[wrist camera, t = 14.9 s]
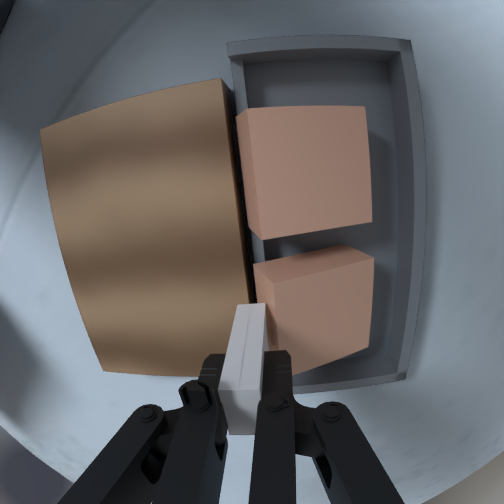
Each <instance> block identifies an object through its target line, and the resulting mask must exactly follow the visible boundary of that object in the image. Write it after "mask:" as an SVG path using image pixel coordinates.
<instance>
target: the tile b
mask: <svg viewBox="0 0 504 504" xmlns="http://www.w3.org/2000/svg"><path fill="white" fill-rule="evenodd" d="M253 268H254V277H255V285H256V294H257V303H265V304H266V314H267V324H268V333H269V343H270V349H269V351H277V350H287V352H288V353H289V354H290V356H291V364H292V376H293V375H296V374H299V373H302V372H305V371H307V370H310V369H313V368H316V367H319V366H321V365H324V364H327V363H329V362H332V361H335V360H337V359H340V358H342V357H345V356H347V355H350V354H352V353H355V352H357V351H360V350H362V349H364V348H367V347H368V345H369V335H370V324H371V312H372V297H373V279H374V257H372V256H370V255H368V254H365V253H363V252H361V251H359V250H357V249H355V248H352V247H350V246H348V245H346V244H341V245H337V246H333V247H328V248H324V249H319V250H315V251H310V252H306V253H301V254H297V255H292V256H288V257H283V258H279V259H274V260H270V261H265V262H261V263H256V264H253Z"/></svg>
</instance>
